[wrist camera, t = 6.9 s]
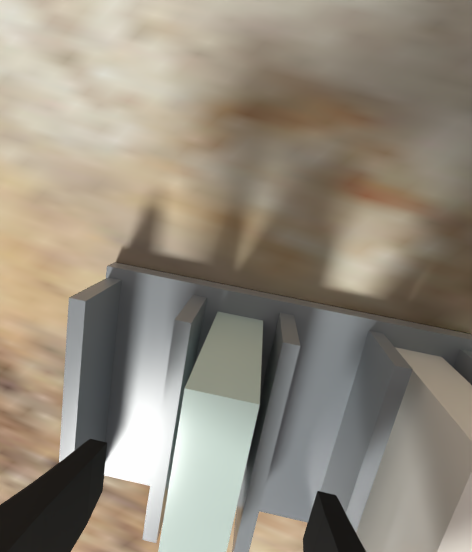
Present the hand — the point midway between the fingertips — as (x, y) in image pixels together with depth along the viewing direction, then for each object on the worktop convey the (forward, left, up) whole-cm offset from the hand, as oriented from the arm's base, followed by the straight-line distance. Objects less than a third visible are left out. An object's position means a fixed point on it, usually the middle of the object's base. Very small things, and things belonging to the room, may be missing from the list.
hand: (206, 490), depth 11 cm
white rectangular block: (0, -8, -5) cm, 9 cm away
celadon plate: (0, 0, -5) cm, 5 cm away
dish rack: (0, -2, -5) cm, 6 cm away
